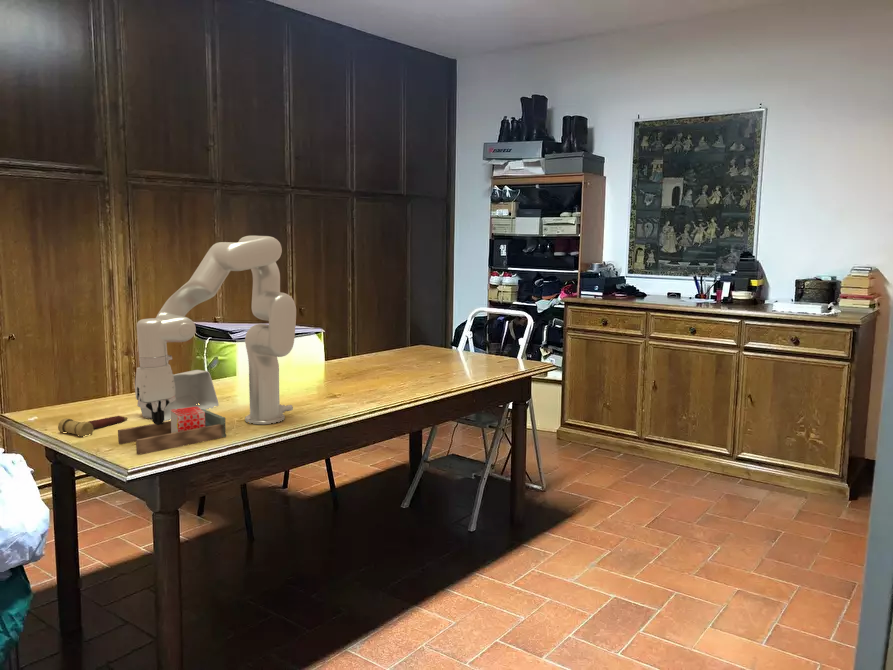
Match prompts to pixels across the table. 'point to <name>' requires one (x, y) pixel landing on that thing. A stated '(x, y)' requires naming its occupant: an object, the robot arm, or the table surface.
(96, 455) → the table surface
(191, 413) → the red patterned cube
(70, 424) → the gavel
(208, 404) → the grey open box shell
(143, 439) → the crate bay
